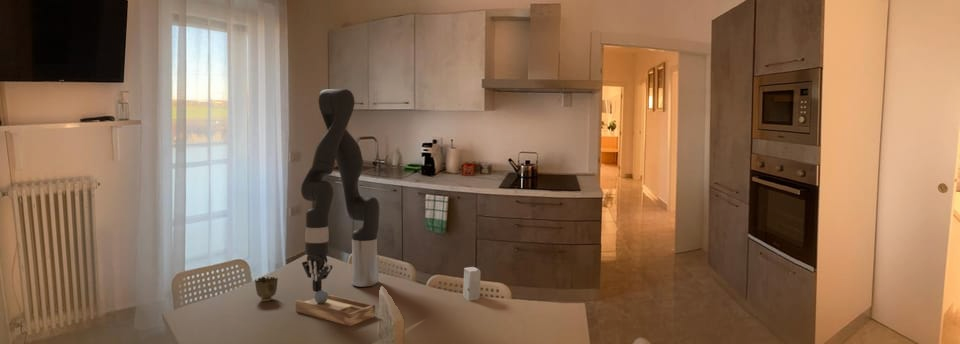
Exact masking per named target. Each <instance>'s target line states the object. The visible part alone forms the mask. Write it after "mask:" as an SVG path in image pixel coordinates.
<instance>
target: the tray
mask: <svg viewBox="0 0 960 344" xmlns="http://www.w3.org/2000/svg"><path fill="white" fill-rule="evenodd" d="M327 294H328V293H327ZM295 312H297V313H300V314H304V315H307V316H308V315H309V316H312V317H315V318H319V319H321V320H327V321H331V322H334V323H337V324H342V325H345V326H349V327H351V326H354V325H356V324H359V323H361V322H364V321H367V320H369V319H372V318H374V317H376V305H375V304H371V303H367V302H363V301H358V300H354V299H350V298H347V297H346V298H345V297H343V296H342V297H341V296H338V295H337V296H336V295H332V294H328V299H327V301H326V302H325V303H322V304H320V303H317V302H316V301H315V298H310V299H307V300H304V301H303V300H299V299H296V300H295Z"/></svg>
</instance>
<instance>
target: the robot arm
mask: <svg viewBox="0 0 960 344" xmlns="http://www.w3.org/2000/svg"><path fill="white" fill-rule="evenodd" d="M355 103H356V102H355V96H354V94H353V93H352V91H351V90H349V89H346V88H330V89H325V88H324V89H323V90H321V91H320V92H319V95H318V107H319V110H320V114H321V117H322V118H323V121H324V122H323V123H324V124H325V126H326V129H327V130H326V133H325V134H324V135H323V137H322V138H321V139H320V140H319V142H318V144H317V146H316V149H315V151H314V155H313V159H312V164H311V167H310V169H309V170H308V172H307V173H306V176H305V178H304V180H303V182H302V184H301V188H300V191H301V192H300V193H301V196H302V198H303V199H304V200H306V201H309V202H315V205H314V208H310V209H308V210H307V211H306V213H305V214H306V215H305V219H306V220H305V234H304V237H305V238H304V239H305V241H304V245H305V246H304V250H305V251H304V253H305V255H306V256H307V257H306V260H305V261H302V263H301V264H302V267H303V270H304V272H305V273H306V275H307V277H308V279H309V278H310V279H311V281H312V291H313V292H315V293H316V292H317V291H319V290H322V282H323V281H322V280H325V279H327V277H328V276H329V274H330V272H331V271H332V269H333V265H332V264H331V265H329V263H328V257H327V256H328V254H329V252H330V247H329V246H330V244H329V243H330V241H329V240H330V239H329V238H330V233H329V231H330V230H329V212H330V209H331V205H332V201H333V198H334V188H333V185H332V184H331V183H330V182H329V181H327V180H323V178H324V177H326V176H329V175H331V174H332V173H333V172H334V167H335V164H336V165H337V168H338V172H339V175H340V179H341V184H342V188H343V194H344V200H345V206H346V210H347V214H348V216H349V218H350V219H351V220H353V221H360V222H363V224H362V227H361V228H359V229H356V230H353V232H352V234H351V252H352V253H351V278H352V279H351V284H352V285H353V286H355V287H361V288H362V287H373V286H375V285H376V284H377V283H379V282H380V281H379V279H380V278H379V277H380V276H379V275H380V273H379V265H380V264H379V263H380V260H379V257H378V232H379V229H380V228H379V225H380V223H379V222H380V220H379V219H380V203H379V200H378V199H377V197H374V196H373V197H372V196H361V194H360V192H359V186H358V185H359V180H360V177H361V174H362V171H363V168H364V159H363V156H362V151H361V147H360V145H359V144H358V142H357V141H356V140H355V138H354V137H353V136H352V135H351V134H350V132H349V131H348V129H347V127H348V124H349V122H350V119H351V116H352V114H353V112H354V108H355Z"/></svg>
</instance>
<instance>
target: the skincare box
mask: <svg viewBox="0 0 960 344" xmlns="http://www.w3.org/2000/svg"><path fill="white" fill-rule="evenodd" d="M481 273H482V272H481V270H480V269H479V268H477V267H475V266H468V267H464V268H463V287H462V289H463V290H462V295H463V297H464V298H465V299H466V301H469V302H470V301H476V300H477V301H478V300H480V295H481V294H480V292H481V291H480V290H481Z"/></svg>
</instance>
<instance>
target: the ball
mask: <svg viewBox="0 0 960 344" xmlns="http://www.w3.org/2000/svg"><path fill="white" fill-rule="evenodd" d="M313 297H314V298H315V301H316V302H317V303H320V304H322V303H325V302H326V301H327V299H328V292H327V291H326V290H324V289H321V290H319V291H317V292H315V294H314V296H313ZM314 298H313V299H314Z"/></svg>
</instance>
